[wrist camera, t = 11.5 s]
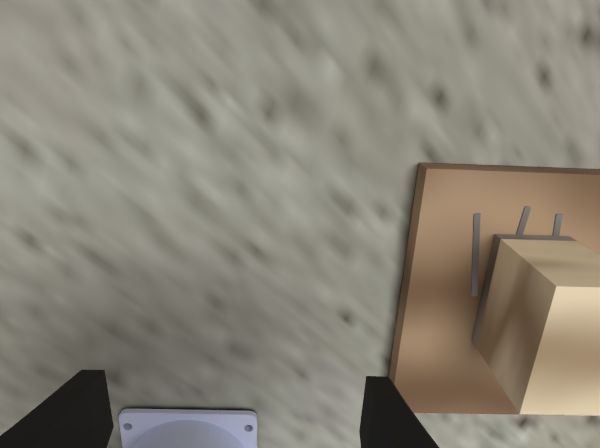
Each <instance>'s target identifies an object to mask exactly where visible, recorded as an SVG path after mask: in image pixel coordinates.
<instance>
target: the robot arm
mask: <svg viewBox="0 0 600 448" xmlns="http://www.w3.org/2000/svg"><path fill="white" fill-rule="evenodd" d="M118 420H119V427H120V434H121V441H122V448H257V430H258V417H257V414H256V413H255V412H253V411H238V410H179V409H124V410H122V411H121V413H120V415H119V418H118ZM127 423H129V424H127ZM130 424H131V425H130ZM246 425H251V426H250V427H249V426H246ZM113 427H114V426H113V420H112V414H111V408H110V402H109V395H108V389H107V383H106V377H105V370H81V371H80V372H79V373H77V374H76V375H75V376H73V377H72V378H71V379H70V380H69V381H67V382H66V383H65V384H64V385H63V386H61V387H60V388H59V389H58V390H57V391H55V392H54V393H53V394H52V395H51V396H49V397H48V398H47V399H46V400H45V401H43V402H42V403H41V404H40V405H39V406H37V407H36V408H35V409H34V410H32V411H31V412H30V413H29V414H28V415H26V416H25V417H24V418H23V419H21V420H20V421H19V422H18V423H16V424H15V425H14V426H13V427H11V428H10V429H9V430H8V431H6V432H5V433H4V434H2V435H1V436H0V448H107V445H108V442H109V439H110V436H111V433H112V430H113ZM360 440H361V448H439V447H438V445H437V444H436V443H435V442H434V440H433V439H432V438H431V436H430V435H429V434H428V432H427V431H426V430H425V428H424V427H423V426H422V424H421V423H420V422H419V420H418V419H417V417H416V416H415V415H414V413H413V412H412V410H411V409H410V407H409V406H408V405H407V403H406V402H405V400H404V399H403V397H402V396H401V394H400V393H399V391H398V390H397V388H396V386H395V385H394V383H393V382H392V380H391V379H390V378H389V377H376V376H366V384H365V392H364V400H363V408H362V416H361V424H360Z"/></svg>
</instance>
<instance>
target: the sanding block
mask: <svg viewBox="0 0 600 448" xmlns="http://www.w3.org/2000/svg"><path fill="white" fill-rule="evenodd" d="M472 342H473V343H474V345H475V346H476V348H477V349H478V351H479V352H480V354H481V355H482V357H483V359H484V360H485V362H486V363H487V365H488V366H489V368H490V369H491V371H492V372H493V374H494V376H495V377H496V379H497V380H498V382H499V383H500V385H501V386H502V388H503V390H504V391H505V393H506V394H507V396H508V397H509V399H510V400H511V402H512V403H513V405H514V407H515V408H516V410H517V411H518V413H519V414H536V415H598V416H600V255H598V254H597V253H595V252H594V251H592V250H591V249H589V248H587V247H586V246H584V245H583V244H581V243H579V242H578V241H576V240H575V239H573V238H572V237H570V236H546V235H512V234H495V236H494V241H493V245H492V250H491V254H490V259H489V263H488V268H487V272H486V277H485V282H484V286H483V291H482V295H481V300H480V304H479V309H478V313H477V318H476V322H475V327H474V332H473V336H472Z"/></svg>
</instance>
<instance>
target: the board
mask: <svg viewBox="0 0 600 448" xmlns="http://www.w3.org/2000/svg"><path fill="white" fill-rule="evenodd" d="M495 234H512V235H546V236H570V237H572V238H573V239H575V240H576V241H578V242H579V243H581V244H583V245H584V246H586V247H587V248H589V249H591V250H592V251H594V252H595V253H597V254H598V255H600V169H579V168H552V167H525V166H498V165H471V164H444V163H419V168H418V175H417V182H416V189H415V196H414V202H413V209H412V216H411V223H410V230H409V237H408V244H407V251H406V258H405V265H404V272H403V279H402V286H401V293H400V300H399V307H398V314H397V321H396V328H395V335H394V342H393V349H392V356H391V363H390V370H389V378H390V379H391V380H392V382H393V383H394V385H395V386H396V388H397V390H398V391H399V393H400V394H401V396H402V397H403V399H404V400H405V402H406V403H407V405H408V406H409V407H410V409H411V410H412V412H413V413H463V414H519V413H518V411H517V410H516V408H515V407H514V405H513V403H512V402H511V400H510V399H509V397H508V396H507V394H506V393H505V391H504V390H503V388H502V386H501V385H500V383H499V382H498V380H497V379H496V377H495V376H494V374H493V372H492V371H491V369H490V368H489V366H488V365H487V363H486V362H485V360H484V359H483V357H482V355H481V354H480V352H479V351H478V349H477V348H476V346H475V345H474V343H473V342H472V336H473V332H474V327H475V322H476V318H477V313H478V309H479V304H480V300H481V295H482V291H483V286H484V282H485V277H486V272H487V268H488V263H489V259H490V254H491V250H492V245H493V241H494V236H495ZM522 415H536V414H522Z"/></svg>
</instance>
